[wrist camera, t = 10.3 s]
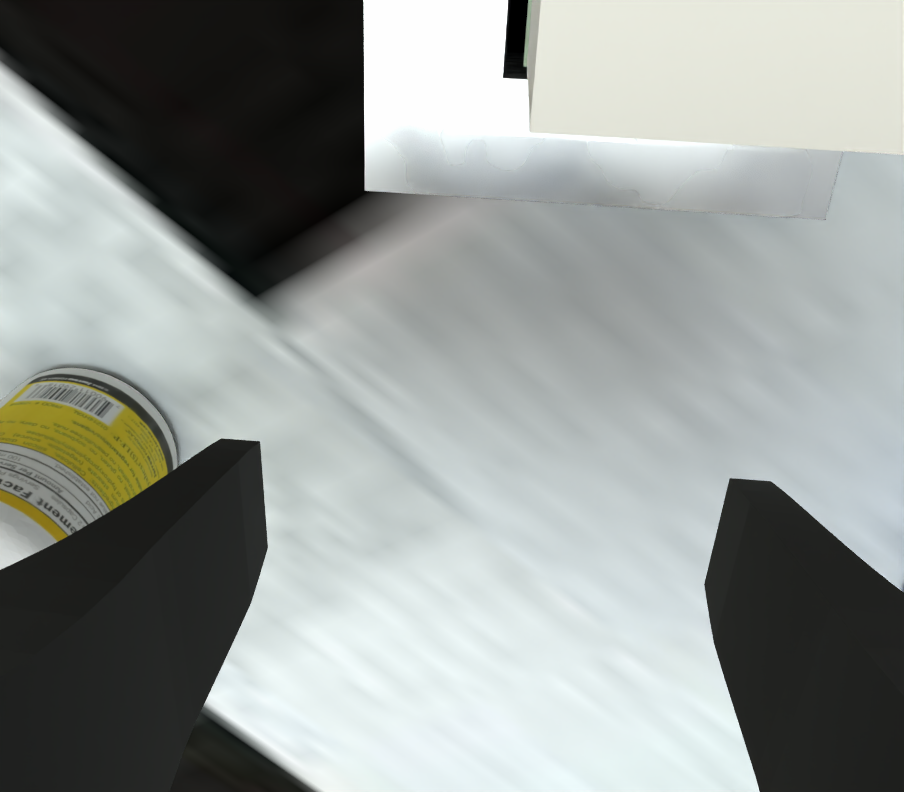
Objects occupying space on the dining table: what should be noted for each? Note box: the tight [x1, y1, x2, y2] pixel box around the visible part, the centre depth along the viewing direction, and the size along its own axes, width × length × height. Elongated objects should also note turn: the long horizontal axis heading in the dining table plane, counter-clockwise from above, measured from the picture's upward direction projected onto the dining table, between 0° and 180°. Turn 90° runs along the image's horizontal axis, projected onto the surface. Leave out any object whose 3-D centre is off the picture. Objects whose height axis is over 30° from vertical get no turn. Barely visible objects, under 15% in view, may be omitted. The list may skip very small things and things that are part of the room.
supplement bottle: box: [0, 368, 177, 570], centre depth 21 cm, size 5×5×10 cm
